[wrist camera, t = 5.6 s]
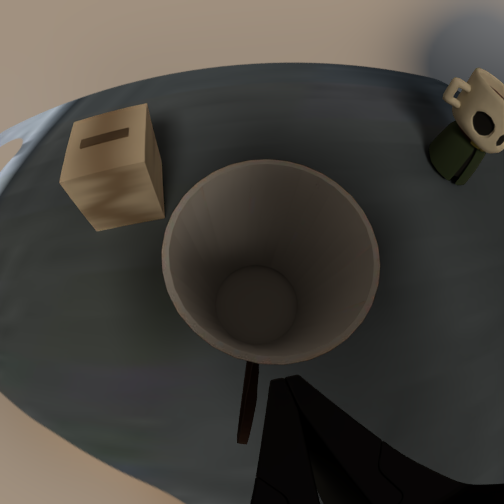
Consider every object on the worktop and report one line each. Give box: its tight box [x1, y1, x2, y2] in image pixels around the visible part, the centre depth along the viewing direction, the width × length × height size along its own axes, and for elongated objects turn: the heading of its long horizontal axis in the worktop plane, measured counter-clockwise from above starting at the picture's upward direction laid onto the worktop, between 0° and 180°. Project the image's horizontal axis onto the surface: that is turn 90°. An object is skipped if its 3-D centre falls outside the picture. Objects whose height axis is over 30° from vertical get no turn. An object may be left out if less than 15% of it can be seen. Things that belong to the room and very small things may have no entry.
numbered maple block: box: [59, 103, 165, 231], centre depth 20 cm, size 6×6×7 cm
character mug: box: [429, 68, 504, 185], centre depth 22 cm, size 11×7×13 cm, turn 73°
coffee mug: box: [162, 159, 380, 444], centre depth 15 cm, size 12×9×10 cm
